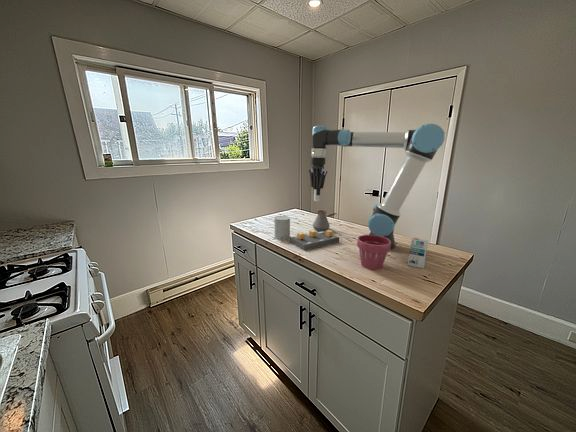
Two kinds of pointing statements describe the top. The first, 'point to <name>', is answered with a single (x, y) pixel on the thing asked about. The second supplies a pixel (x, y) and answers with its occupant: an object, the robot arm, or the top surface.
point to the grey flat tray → (314, 240)
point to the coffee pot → (321, 221)
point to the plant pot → (373, 250)
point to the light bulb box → (418, 252)
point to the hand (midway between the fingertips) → (316, 200)
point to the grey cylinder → (282, 227)
